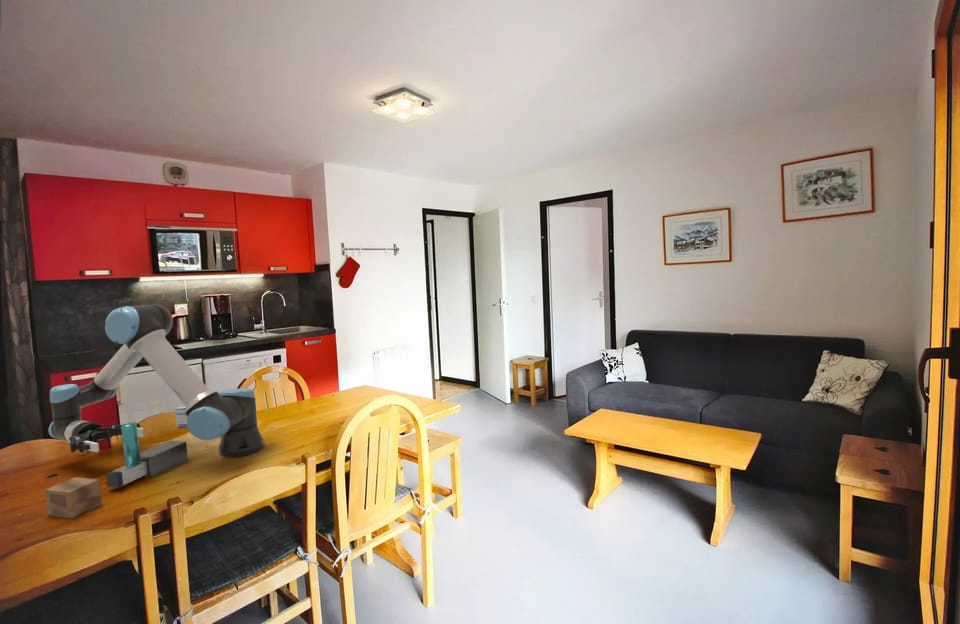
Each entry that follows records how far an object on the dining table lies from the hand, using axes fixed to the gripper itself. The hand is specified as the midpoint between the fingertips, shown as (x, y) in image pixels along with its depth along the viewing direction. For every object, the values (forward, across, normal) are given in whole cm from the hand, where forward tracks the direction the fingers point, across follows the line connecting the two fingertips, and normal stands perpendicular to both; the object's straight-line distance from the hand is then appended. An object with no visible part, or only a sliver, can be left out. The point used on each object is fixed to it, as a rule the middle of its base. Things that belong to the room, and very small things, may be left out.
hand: (121, 440), depth 152 cm
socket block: (+7, +17, -13) cm, 23 cm away
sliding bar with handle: (+3, -5, -12) cm, 13 cm away
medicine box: (-33, -43, -14) cm, 56 cm away
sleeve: (+2, -10, -13) cm, 17 cm away
